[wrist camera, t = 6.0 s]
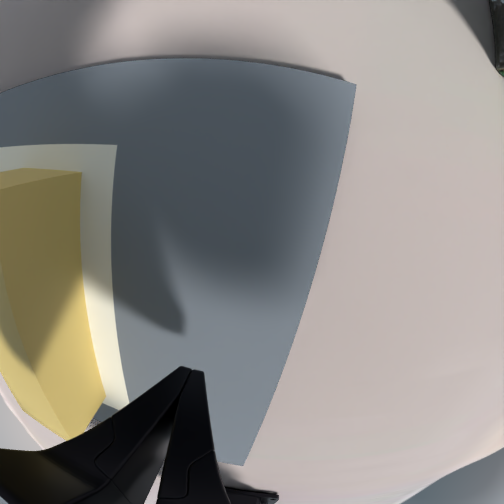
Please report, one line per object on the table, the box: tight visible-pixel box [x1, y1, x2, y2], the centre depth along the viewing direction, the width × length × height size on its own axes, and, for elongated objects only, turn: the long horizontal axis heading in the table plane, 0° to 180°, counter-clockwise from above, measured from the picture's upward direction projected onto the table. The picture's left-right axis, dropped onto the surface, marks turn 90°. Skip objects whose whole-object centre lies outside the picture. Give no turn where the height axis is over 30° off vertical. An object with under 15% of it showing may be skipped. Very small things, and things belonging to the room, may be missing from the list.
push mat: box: [0, 58, 356, 466], centre depth 10 cm, size 20×21×1 cm
